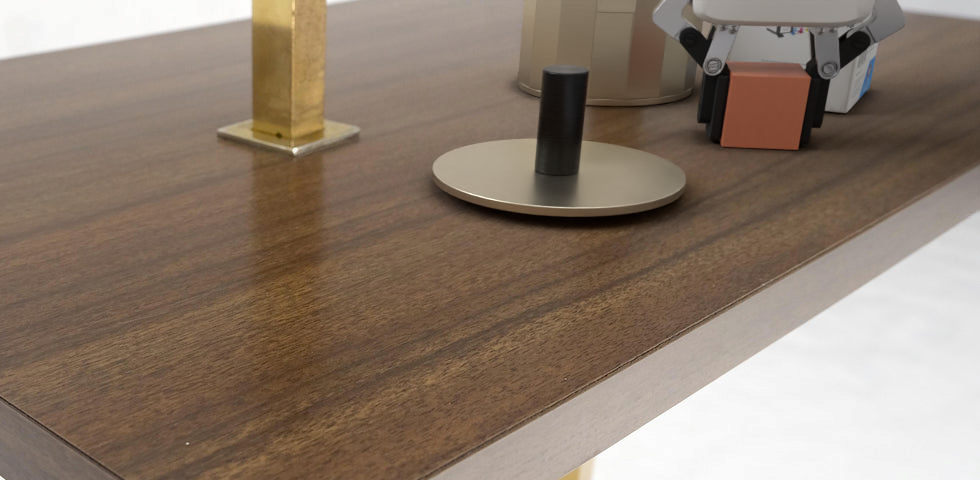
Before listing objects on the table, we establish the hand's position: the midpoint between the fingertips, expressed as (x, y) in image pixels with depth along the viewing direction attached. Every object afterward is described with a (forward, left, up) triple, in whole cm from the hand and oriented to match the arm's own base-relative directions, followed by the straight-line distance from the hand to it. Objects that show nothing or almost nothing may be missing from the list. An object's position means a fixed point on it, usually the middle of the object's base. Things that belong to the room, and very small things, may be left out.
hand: (755, 134), depth 73 cm
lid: (+12, +13, 0) cm, 18 cm away
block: (0, 0, 0) cm, 0 cm away
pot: (+9, -14, 0) cm, 17 cm away
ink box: (-4, -13, -1) cm, 14 cm away
